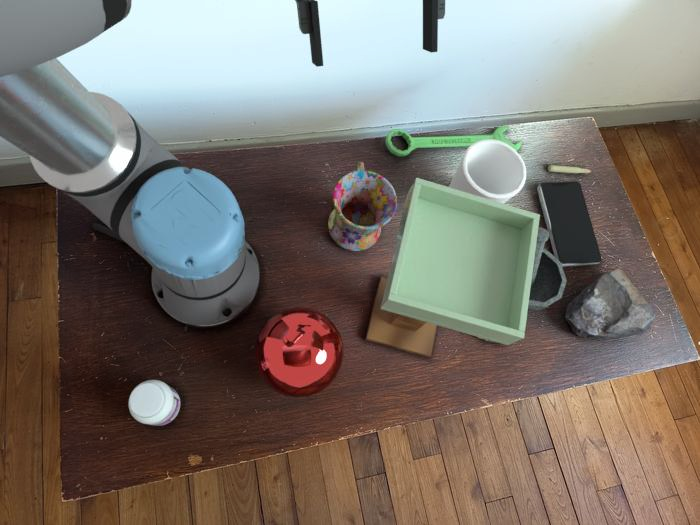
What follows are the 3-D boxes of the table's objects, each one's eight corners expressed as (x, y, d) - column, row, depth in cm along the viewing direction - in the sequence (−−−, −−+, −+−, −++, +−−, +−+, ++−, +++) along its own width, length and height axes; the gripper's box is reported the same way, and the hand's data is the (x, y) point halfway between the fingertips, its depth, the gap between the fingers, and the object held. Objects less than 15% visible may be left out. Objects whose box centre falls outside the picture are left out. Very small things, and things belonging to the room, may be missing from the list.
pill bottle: (133, 398, 72) (114, 391, 63) (170, 378, 74) (157, 368, 65) (150, 434, 71) (134, 431, 62) (187, 413, 73) (177, 407, 64)
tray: (380, 309, 57) (387, 299, 53) (407, 193, 62) (416, 177, 58) (508, 345, 58) (524, 338, 54) (524, 228, 63) (540, 214, 59)
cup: (443, 171, 92) (469, 129, 80) (496, 189, 92) (531, 150, 80) (430, 221, 88) (456, 185, 76) (486, 240, 89) (521, 207, 77)
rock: (603, 263, 91) (623, 252, 86) (654, 312, 89) (678, 303, 84) (553, 318, 86) (571, 310, 81) (606, 371, 84) (628, 365, 79)
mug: (383, 255, 85) (399, 229, 75) (325, 254, 84) (333, 228, 74) (379, 188, 89) (394, 154, 79) (323, 186, 88) (331, 151, 78)
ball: (251, 400, 75) (248, 390, 63) (258, 316, 79) (257, 293, 68) (336, 403, 76) (348, 394, 65) (339, 321, 80) (351, 299, 69)
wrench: (519, 122, 95) (526, 149, 94) (515, 128, 97) (521, 154, 96) (384, 126, 91) (388, 154, 89) (381, 132, 93) (386, 160, 91)
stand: (364, 339, 80) (404, 295, 58) (379, 278, 84) (422, 214, 61) (428, 357, 81) (491, 320, 58) (440, 296, 84) (504, 239, 62)
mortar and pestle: (550, 313, 86) (593, 292, 75) (497, 322, 84) (533, 302, 73) (530, 248, 89) (568, 219, 78) (478, 256, 88) (510, 227, 76)
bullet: (549, 172, 95) (591, 175, 96) (552, 166, 94) (593, 169, 95) (547, 169, 96) (588, 172, 97) (549, 163, 95) (591, 167, 96)
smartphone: (559, 265, 88) (538, 183, 92) (555, 267, 89) (535, 186, 93) (603, 261, 89) (580, 181, 94) (599, 264, 90) (576, 184, 95)
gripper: (468, -174, 57) (460, 41, 67) (230, -165, 52) (263, 64, 63) (503, -190, 50) (489, 49, 61) (237, -182, 46) (272, 76, 56)
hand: (374, 57), depth 62 cm, fingers open, 13 cm apart
